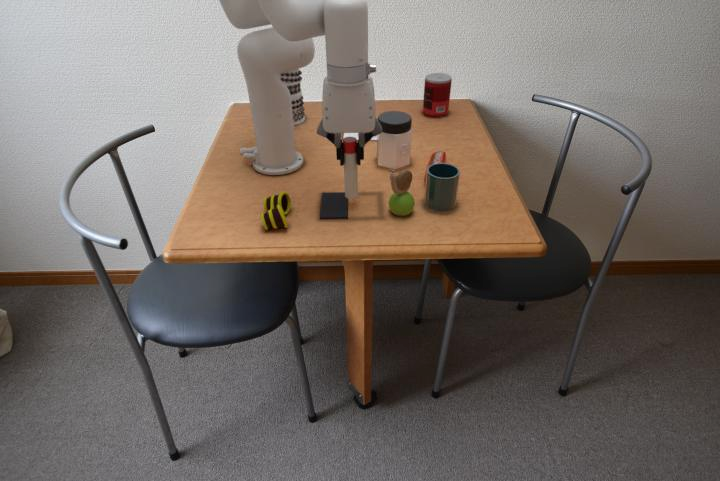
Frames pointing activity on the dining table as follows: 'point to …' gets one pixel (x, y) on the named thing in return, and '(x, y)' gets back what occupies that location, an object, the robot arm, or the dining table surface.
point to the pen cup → (441, 186)
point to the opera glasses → (276, 210)
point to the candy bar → (437, 159)
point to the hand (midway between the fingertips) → (350, 161)
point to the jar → (394, 139)
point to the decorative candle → (294, 94)
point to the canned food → (436, 94)
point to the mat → (334, 206)
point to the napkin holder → (356, 135)
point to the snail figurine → (401, 193)
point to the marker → (350, 167)
